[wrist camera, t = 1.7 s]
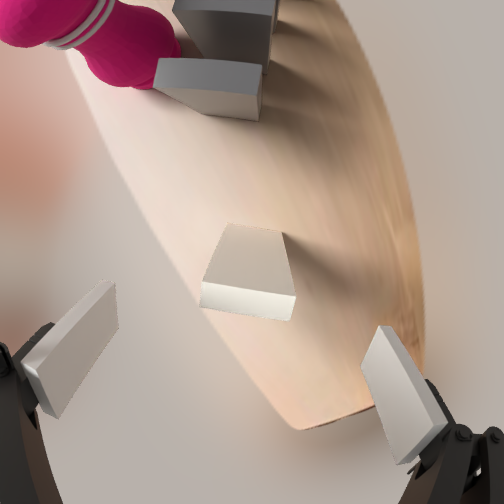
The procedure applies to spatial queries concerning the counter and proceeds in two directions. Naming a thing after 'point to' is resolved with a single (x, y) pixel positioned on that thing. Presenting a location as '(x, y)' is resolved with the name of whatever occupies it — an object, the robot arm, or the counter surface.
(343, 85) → the counter surface
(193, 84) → the domino
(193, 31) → the domino
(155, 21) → the pepper mill
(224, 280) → the white domino
